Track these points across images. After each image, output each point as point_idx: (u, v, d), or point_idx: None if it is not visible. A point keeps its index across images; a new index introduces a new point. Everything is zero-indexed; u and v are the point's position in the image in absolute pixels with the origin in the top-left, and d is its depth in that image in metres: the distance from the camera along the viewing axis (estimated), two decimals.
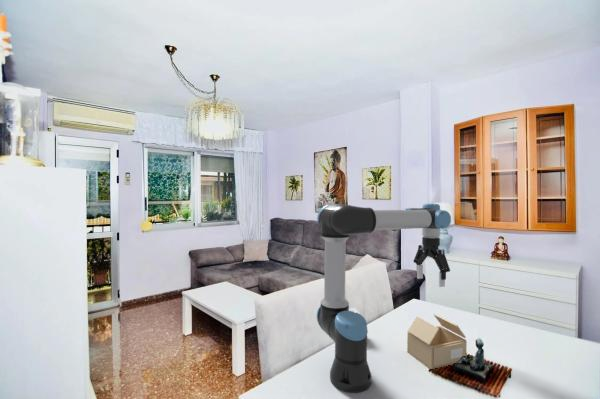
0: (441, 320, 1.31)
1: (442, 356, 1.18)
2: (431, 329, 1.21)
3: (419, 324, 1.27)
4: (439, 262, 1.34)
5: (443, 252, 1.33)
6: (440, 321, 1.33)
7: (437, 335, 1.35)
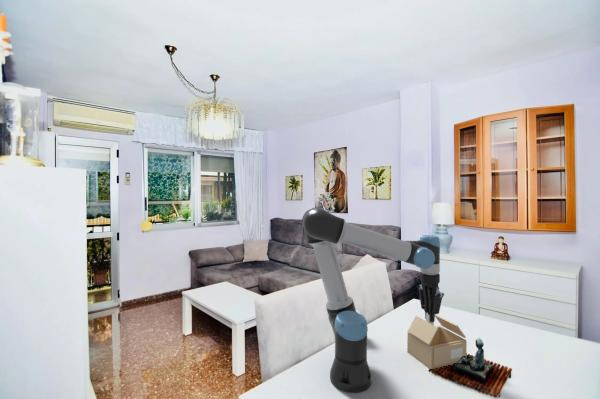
0: (441, 320, 1.31)
1: (442, 356, 1.18)
2: (431, 329, 1.21)
3: (418, 324, 1.27)
4: (432, 303, 1.23)
5: (441, 296, 1.20)
6: (440, 321, 1.33)
7: (437, 335, 1.35)
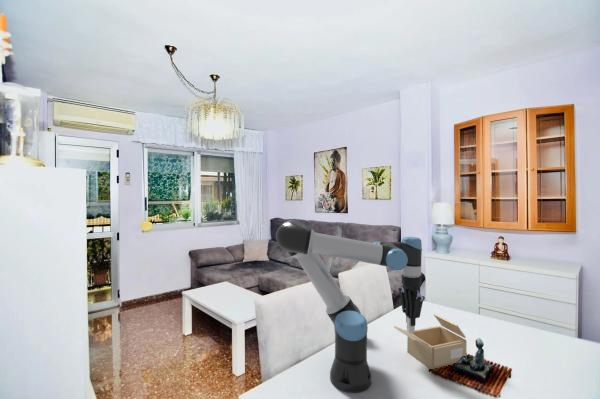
0: (441, 320, 1.31)
1: (442, 356, 1.18)
2: None
3: None
4: (413, 307, 1.20)
5: (422, 300, 1.17)
6: (440, 321, 1.33)
7: (437, 335, 1.35)
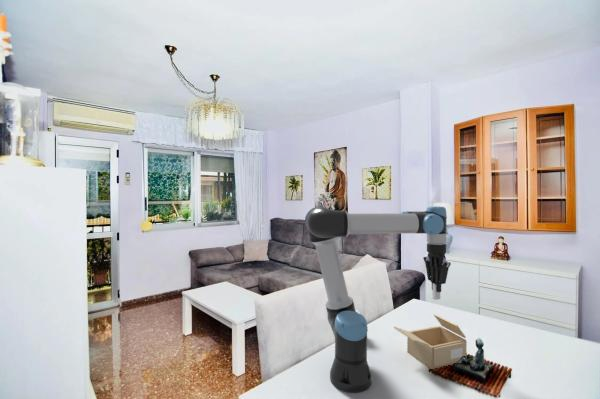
0: (441, 320, 1.31)
1: (442, 356, 1.18)
2: (413, 339, 1.18)
3: None
4: (439, 274, 1.24)
5: (448, 266, 1.21)
6: (440, 321, 1.33)
7: (437, 335, 1.35)
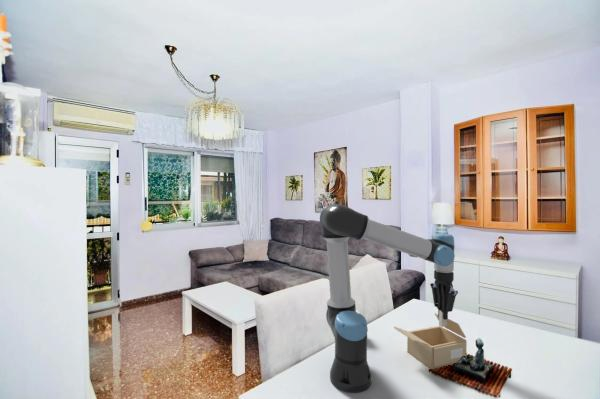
0: None
1: (442, 356, 1.18)
2: (413, 339, 1.18)
3: None
4: (446, 301, 1.26)
5: (455, 294, 1.22)
6: None
7: (437, 335, 1.35)
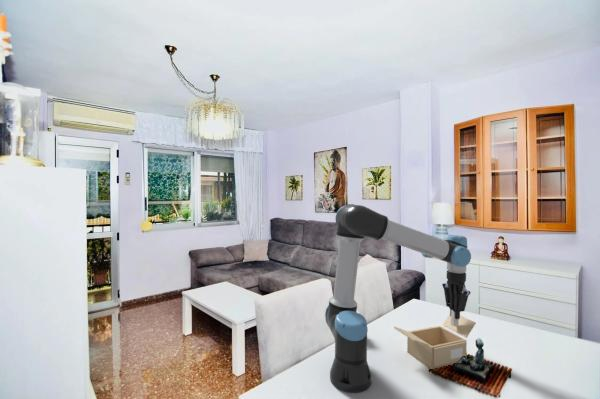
0: None
1: (442, 356, 1.18)
2: (413, 339, 1.18)
3: None
4: (458, 301, 1.28)
5: (468, 294, 1.25)
6: (450, 319, 1.35)
7: (437, 335, 1.35)
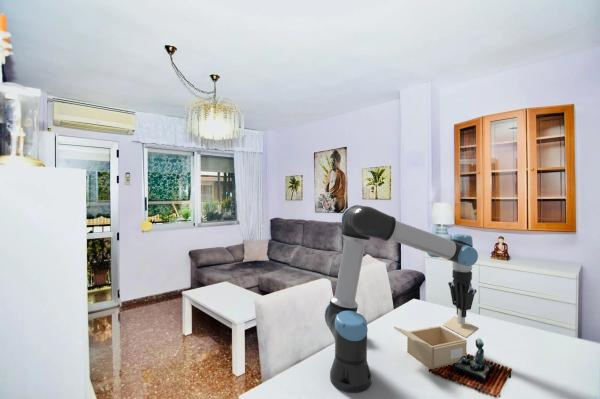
0: (457, 321, 1.34)
1: (442, 356, 1.18)
2: (413, 339, 1.18)
3: None
4: (464, 300, 1.29)
5: (474, 293, 1.26)
6: (452, 321, 1.35)
7: (437, 335, 1.35)
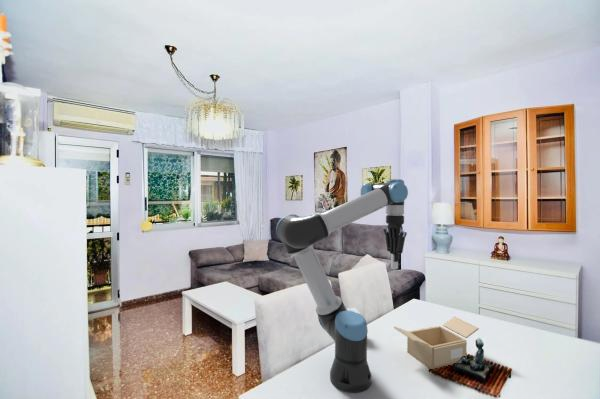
0: (457, 321, 1.34)
1: (442, 356, 1.18)
2: (413, 339, 1.18)
3: None
4: (396, 244, 1.29)
5: (404, 235, 1.26)
6: (452, 321, 1.35)
7: (437, 335, 1.35)
